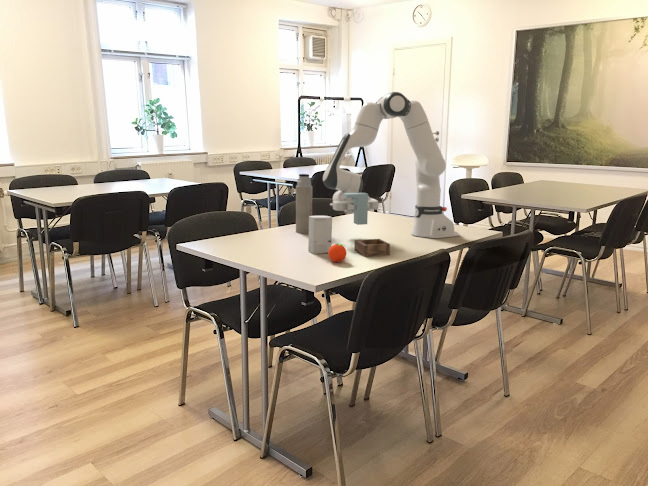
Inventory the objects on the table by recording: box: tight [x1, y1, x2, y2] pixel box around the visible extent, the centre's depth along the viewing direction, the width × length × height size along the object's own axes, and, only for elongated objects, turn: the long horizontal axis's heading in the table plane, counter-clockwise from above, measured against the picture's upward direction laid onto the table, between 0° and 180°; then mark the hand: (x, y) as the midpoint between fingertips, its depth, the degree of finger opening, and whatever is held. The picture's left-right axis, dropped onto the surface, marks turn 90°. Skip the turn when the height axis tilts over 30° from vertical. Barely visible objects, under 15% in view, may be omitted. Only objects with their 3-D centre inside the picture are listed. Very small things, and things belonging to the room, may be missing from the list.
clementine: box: [328, 243, 349, 263], centre depth 203 cm, size 8×7×7 cm
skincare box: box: [307, 215, 333, 255], centre depth 219 cm, size 8×6×15 cm
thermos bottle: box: [295, 173, 313, 234], centre depth 260 cm, size 8×8×28 cm
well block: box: [354, 238, 391, 258], centre depth 219 cm, size 11×11×4 cm
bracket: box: [343, 192, 369, 226], centre depth 228 cm, size 10×4×13 cm, turn 107°
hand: (361, 207), depth 228 cm, fingers closed on bracket, 4 cm apart
